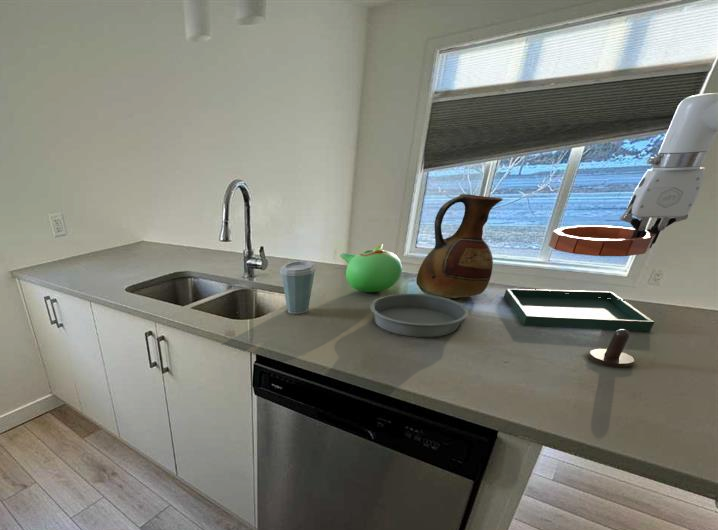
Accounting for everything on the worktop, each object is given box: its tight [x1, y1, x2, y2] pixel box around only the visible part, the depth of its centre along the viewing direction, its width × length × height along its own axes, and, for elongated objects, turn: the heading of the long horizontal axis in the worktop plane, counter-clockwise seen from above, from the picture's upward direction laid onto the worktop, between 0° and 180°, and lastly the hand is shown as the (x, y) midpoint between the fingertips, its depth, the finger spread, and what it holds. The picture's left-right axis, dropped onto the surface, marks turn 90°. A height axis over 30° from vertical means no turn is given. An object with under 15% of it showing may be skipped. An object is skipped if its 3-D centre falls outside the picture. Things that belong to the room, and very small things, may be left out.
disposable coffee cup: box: [280, 259, 316, 315], centre depth 126 cm, size 11×11×15 cm
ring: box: [548, 224, 656, 257], centre depth 100 cm, size 18×18×4 cm
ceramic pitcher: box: [416, 193, 504, 300], centre depth 124 cm, size 20×20×30 cm
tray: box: [503, 288, 655, 333], centre depth 111 cm, size 26×24×3 cm
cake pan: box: [370, 293, 470, 338], centre depth 113 cm, size 25×25×4 cm
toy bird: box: [339, 243, 403, 293], centre depth 138 cm, size 18×17×15 cm
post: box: [587, 329, 635, 369], centre depth 87 cm, size 7×7×7 cm
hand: (640, 246), depth 98 cm, fingers closed on ring, 1 cm apart
